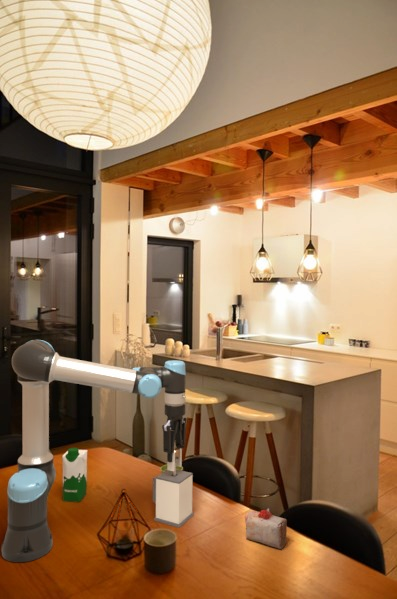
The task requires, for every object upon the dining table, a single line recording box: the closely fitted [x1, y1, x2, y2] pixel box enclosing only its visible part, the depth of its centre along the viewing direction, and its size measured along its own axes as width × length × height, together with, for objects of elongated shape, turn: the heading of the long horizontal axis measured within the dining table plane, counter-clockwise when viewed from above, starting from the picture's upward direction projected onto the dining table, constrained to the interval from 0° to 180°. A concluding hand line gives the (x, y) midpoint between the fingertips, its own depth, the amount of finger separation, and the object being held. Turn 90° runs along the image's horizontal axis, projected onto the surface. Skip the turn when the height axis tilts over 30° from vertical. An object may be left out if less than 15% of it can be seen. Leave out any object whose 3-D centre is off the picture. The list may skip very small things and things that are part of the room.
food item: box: [244, 507, 288, 550], centre depth 152 cm, size 14×8×10 cm, turn 59°
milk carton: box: [61, 447, 88, 503], centre depth 182 cm, size 9×9×20 cm
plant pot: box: [160, 464, 184, 474], centre depth 192 cm, size 9×9×9 cm
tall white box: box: [152, 470, 194, 528], centre depth 167 cm, size 10×14×16 cm
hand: (174, 468), depth 166 cm, fingers closed on plunger, 4 cm apart
